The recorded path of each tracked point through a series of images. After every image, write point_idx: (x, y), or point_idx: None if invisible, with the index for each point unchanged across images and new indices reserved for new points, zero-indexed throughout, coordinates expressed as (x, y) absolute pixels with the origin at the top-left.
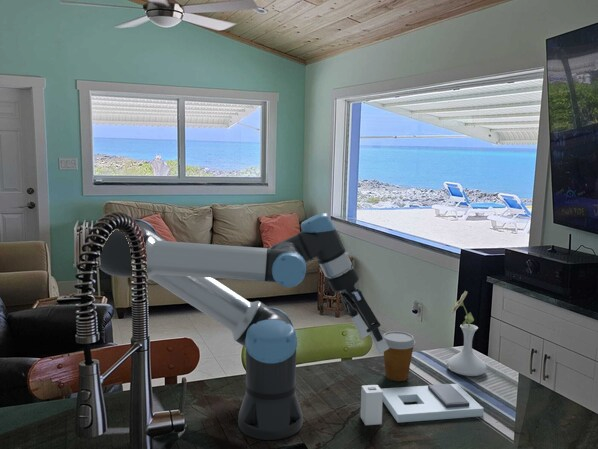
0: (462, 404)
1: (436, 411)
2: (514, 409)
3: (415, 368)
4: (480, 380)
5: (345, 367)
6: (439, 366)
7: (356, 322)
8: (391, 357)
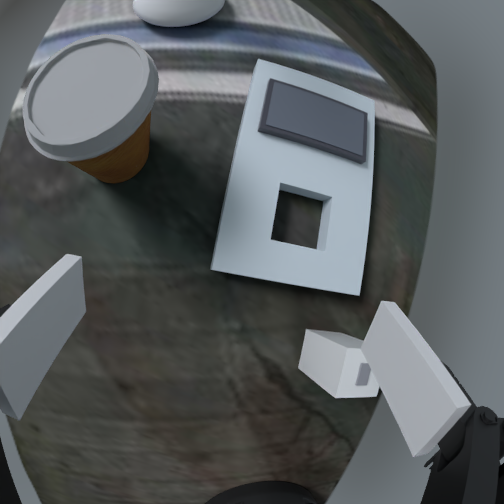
0: (366, 127)
1: (370, 197)
2: (351, 49)
3: None
4: (227, 9)
5: (15, 268)
6: (124, 34)
7: (33, 373)
8: (120, 157)
